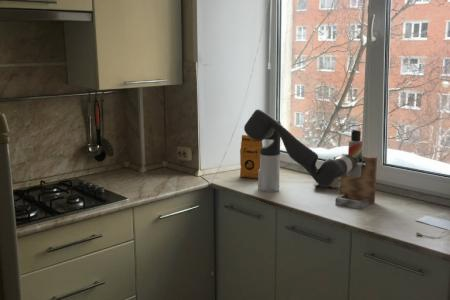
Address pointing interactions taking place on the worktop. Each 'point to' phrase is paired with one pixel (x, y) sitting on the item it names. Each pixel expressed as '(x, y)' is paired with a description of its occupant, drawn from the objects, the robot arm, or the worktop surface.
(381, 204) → the worktop surface
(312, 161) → the robot arm
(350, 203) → the cleat board
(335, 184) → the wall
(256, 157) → the coffee package
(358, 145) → the lotion bottle
